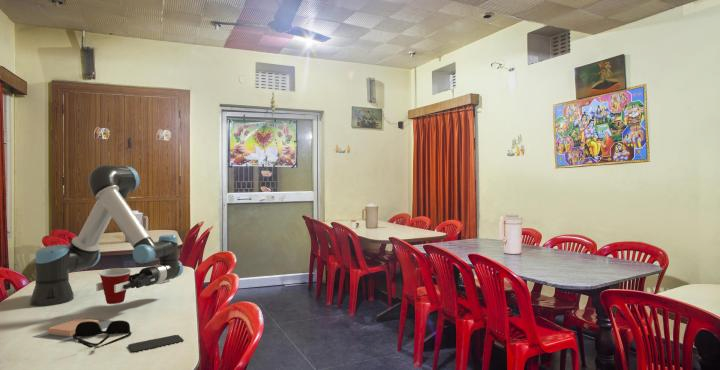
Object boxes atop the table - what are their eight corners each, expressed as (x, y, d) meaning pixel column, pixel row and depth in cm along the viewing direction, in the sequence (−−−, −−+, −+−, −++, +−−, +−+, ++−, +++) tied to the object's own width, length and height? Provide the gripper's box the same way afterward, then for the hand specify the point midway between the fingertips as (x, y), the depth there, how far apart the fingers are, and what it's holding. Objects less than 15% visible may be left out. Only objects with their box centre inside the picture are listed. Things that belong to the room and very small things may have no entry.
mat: (32, 339, 139) (32, 336, 139) (86, 320, 158) (86, 318, 158) (70, 343, 134) (70, 341, 134) (121, 323, 154) (121, 321, 154)
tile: (78, 324, 151) (48, 335, 140) (78, 318, 151) (48, 328, 140) (98, 326, 149) (69, 337, 138) (98, 320, 149) (69, 330, 138)
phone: (184, 340, 136) (132, 351, 127) (184, 343, 136) (132, 354, 127) (177, 334, 142) (127, 344, 133) (177, 336, 142) (127, 347, 133)
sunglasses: (57, 354, 125) (58, 338, 125) (74, 336, 139) (75, 320, 139) (122, 351, 130) (123, 335, 130) (132, 333, 144) (133, 318, 144)
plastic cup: (105, 308, 154) (105, 274, 154) (94, 302, 161) (93, 271, 161) (136, 301, 163) (136, 270, 163) (124, 296, 169) (124, 266, 169)
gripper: (172, 285, 176) (128, 300, 154) (132, 282, 182) (84, 296, 160) (172, 267, 176) (128, 279, 154) (132, 265, 182) (84, 276, 160)
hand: (106, 288), depth 157 cm, fingers closed on plastic cup, 8 cm apart
